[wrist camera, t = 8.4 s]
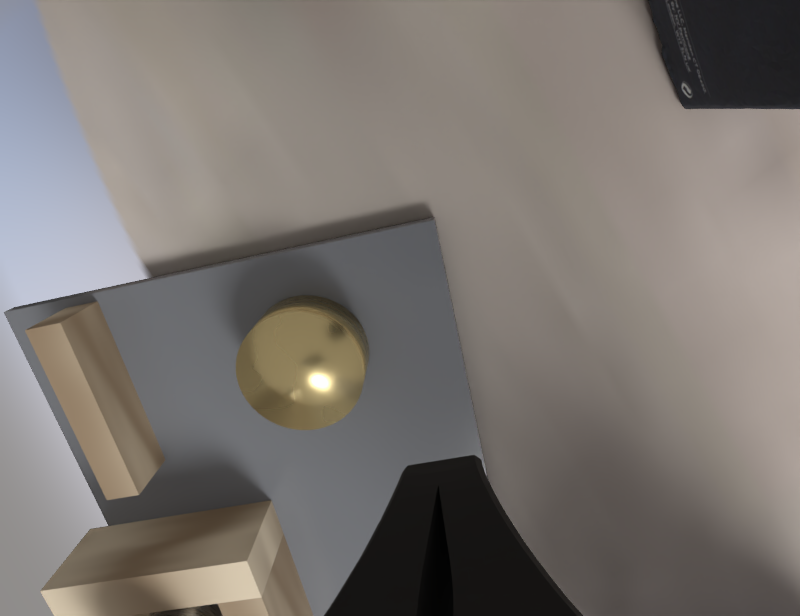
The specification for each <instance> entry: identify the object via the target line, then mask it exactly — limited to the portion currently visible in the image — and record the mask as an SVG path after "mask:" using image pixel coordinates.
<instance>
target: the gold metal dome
mask: <svg viewBox="0 0 800 616" xmlns="http://www.w3.org/2000/svg"><path fill="white" fill-rule="evenodd" d="M368 362H369V344H368V339H367V336H366V333H365V331H364V329H363V327H362V326H361V324H360V323H359V321H358V320H357V319H356V317H355V316H354V315H353V314H352V313H351V312H350V311H349V310H347V309H346V308H345V307H343V306H342V305H340V304H338V303H336V302H335V301H332V300H330V299H327V298H324V297H320V296H313V295H300V296H294V297H290V298H287V299H284V300H282V301H280V302H278V303H276V304H275V305H273V306H272V307H271V308H269V309H268V310H267V311H266V312H265V313H264V315H263V316H262V317H261V318H260V319H259V321H258V322H257V323H256V324H255V326H254V327H253V328H252V329H251V331H250V332H249V333H248V334H247V336H246V337H245V339H244V340H243V342H242V343H241V346H240V348H239V350H238V354H237V358H236V376H237V381H238V384H239V387H240V389H241V392H242V394H243V395H244V397H245V399H246V400H247V402H248V403H249V404H250V405H251V407H252V408H253V409H254V410H255V411H256V412H258V413H259V414H260V415H261V416H263V417H264V418H266V419H267V420H269V421H271V422H273V423H275V424H277V425H280V426H283V427H286V428H290V429H296V430H315V429H320V428H324V427H327V426H330V425H332V424H334V423H336V422H338V421H339V420H341V419H342V418H344V417H345V416H346V415H347V414H348V413H349V412H350V411H351V410H352V409H353V407H354V406H355V405H356V403H357V401H358V399H359V397H360V395H361V392H362V388H363V383H364V379H365V375H366V371H367V366H368Z"/></svg>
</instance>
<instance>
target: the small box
mask: <svg viewBox="0 0 800 616" xmlns="http://www.w3.org/2000/svg"><path fill="white" fill-rule="evenodd" d="M648 1H649V4H650V7H651V10H652V15H653V22H654V23H655V25H656V27H657V30H658V33H659V37H660V40H661V43H662V56H663V58H664V60H665V63H666V66H667V68H668V70H669V74H670V76H671V78H672V80H673V83H674V85H675V87H676V89H677V92H678V95H679V98H680V101H681V104H682V106H683V107H684V108H685V109H745V108H752V109H800V0H648Z"/></svg>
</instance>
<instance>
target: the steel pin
mask: <svg viewBox="0 0 800 616" xmlns="http://www.w3.org/2000/svg"><path fill="white" fill-rule="evenodd" d="M148 616H223V615H222V613H221V610H220V608H219V606H218V604H211V605H203V606H196V607H189V608H181V609H174V610H167V611H160V612H152V613H149V615H148Z"/></svg>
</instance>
